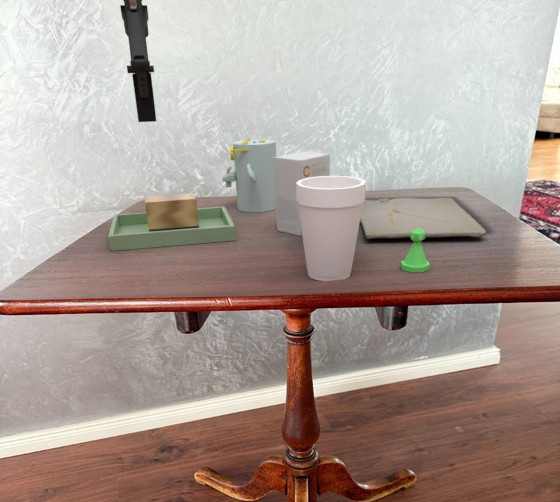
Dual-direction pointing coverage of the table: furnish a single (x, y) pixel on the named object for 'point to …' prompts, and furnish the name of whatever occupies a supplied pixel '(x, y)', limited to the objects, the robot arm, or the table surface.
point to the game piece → (416, 254)
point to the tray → (170, 231)
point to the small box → (286, 178)
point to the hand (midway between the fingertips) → (147, 118)
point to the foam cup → (330, 223)
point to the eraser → (171, 212)
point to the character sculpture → (253, 174)
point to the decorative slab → (417, 218)
